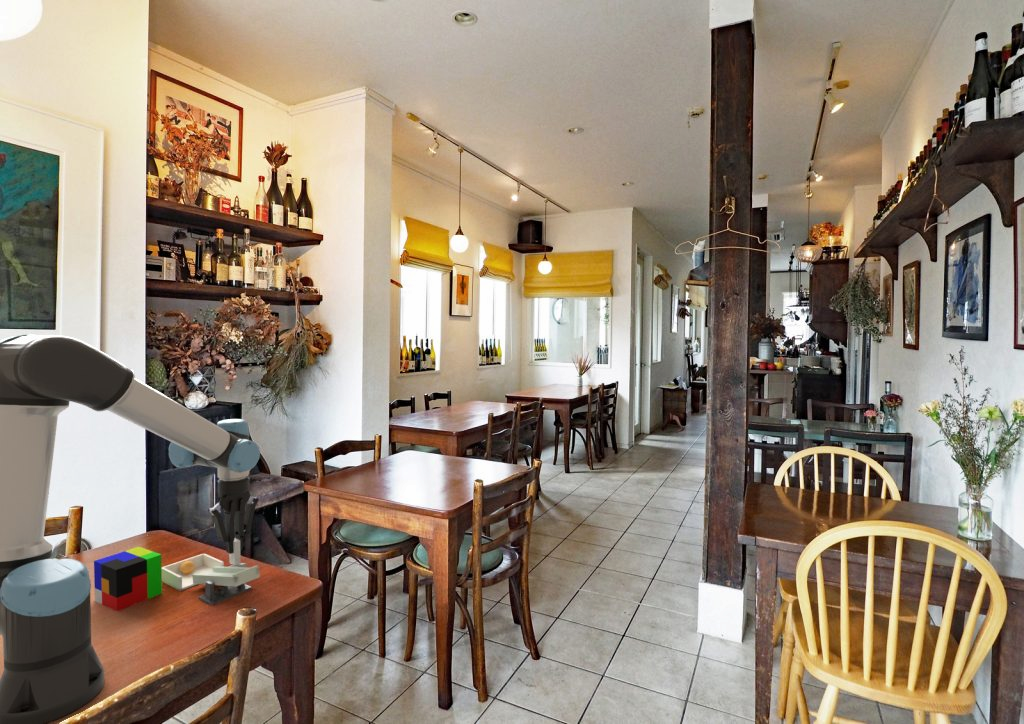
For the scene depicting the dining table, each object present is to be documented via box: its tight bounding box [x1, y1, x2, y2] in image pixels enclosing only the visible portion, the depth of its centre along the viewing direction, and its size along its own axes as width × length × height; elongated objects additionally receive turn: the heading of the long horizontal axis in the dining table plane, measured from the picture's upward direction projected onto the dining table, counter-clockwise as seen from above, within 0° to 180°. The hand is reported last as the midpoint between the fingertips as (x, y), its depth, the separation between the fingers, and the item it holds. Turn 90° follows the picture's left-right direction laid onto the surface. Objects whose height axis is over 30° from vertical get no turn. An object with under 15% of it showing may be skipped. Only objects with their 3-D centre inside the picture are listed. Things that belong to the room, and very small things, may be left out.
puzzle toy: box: [93, 546, 163, 612], centre depth 130 cm, size 10×10×10 cm
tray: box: [161, 552, 225, 592], centre depth 141 cm, size 11×10×4 cm
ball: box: [180, 561, 194, 574], centre depth 142 cm, size 3×3×3 cm
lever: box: [192, 562, 261, 587], centre depth 135 cm, size 20×12×3 cm, turn 57°
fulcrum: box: [198, 581, 253, 607], centre depth 132 cm, size 6×10×4 cm, turn 148°
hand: (234, 563), depth 143 cm, fingers closed
